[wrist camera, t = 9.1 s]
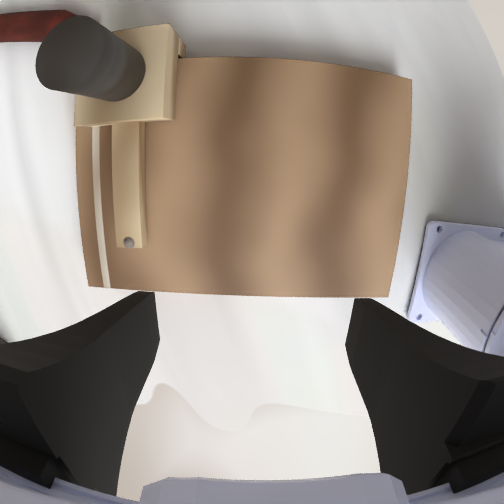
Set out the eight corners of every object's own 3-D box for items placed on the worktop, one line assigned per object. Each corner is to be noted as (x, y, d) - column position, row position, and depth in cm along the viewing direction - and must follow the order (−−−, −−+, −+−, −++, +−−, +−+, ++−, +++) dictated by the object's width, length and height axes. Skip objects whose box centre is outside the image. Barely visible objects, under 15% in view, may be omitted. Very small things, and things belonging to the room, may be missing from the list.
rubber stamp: (185, 46, 16) (136, -20, 7) (182, 235, 20) (133, 304, 11) (111, 54, 16) (27, 13, 7) (111, 233, 20) (32, 293, 11)
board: (398, 83, 17) (412, 79, 15) (377, 284, 22) (388, 297, 20) (93, 77, 17) (78, 72, 15) (100, 274, 21) (88, 286, 19)
